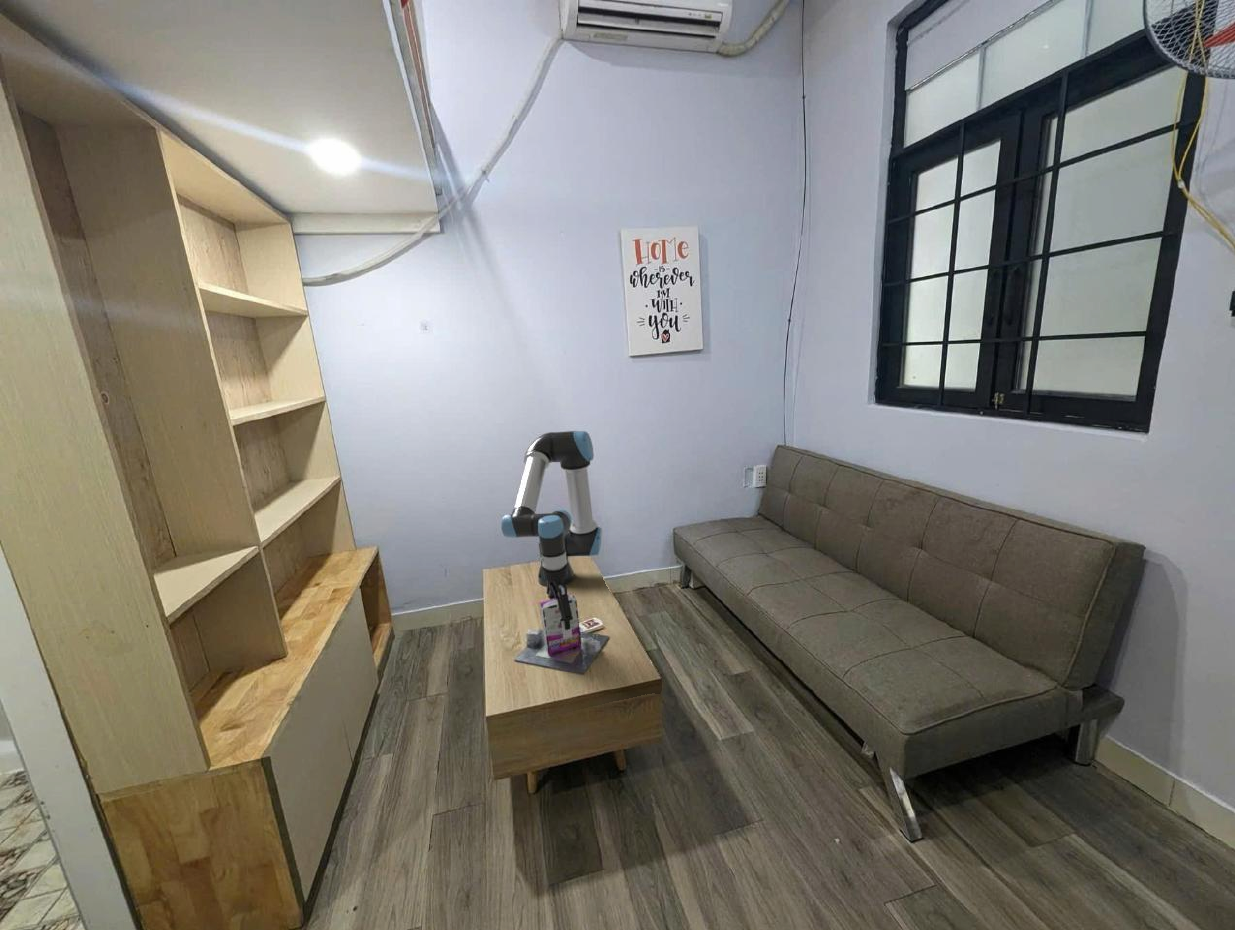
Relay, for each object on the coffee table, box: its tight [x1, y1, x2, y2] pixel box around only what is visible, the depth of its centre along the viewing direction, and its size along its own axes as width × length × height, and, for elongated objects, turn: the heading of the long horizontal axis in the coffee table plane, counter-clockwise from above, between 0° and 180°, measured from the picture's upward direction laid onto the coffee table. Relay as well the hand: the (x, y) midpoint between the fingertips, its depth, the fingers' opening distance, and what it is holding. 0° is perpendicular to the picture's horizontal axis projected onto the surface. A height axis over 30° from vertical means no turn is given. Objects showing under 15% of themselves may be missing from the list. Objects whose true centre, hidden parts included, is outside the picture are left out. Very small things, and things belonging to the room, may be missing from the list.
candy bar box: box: [539, 593, 581, 655], centre depth 154 cm, size 11×5×16 cm, turn 113°
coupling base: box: [513, 628, 610, 675], centre depth 155 cm, size 26×20×5 cm
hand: (561, 626), depth 154 cm, fingers open, 13 cm apart
